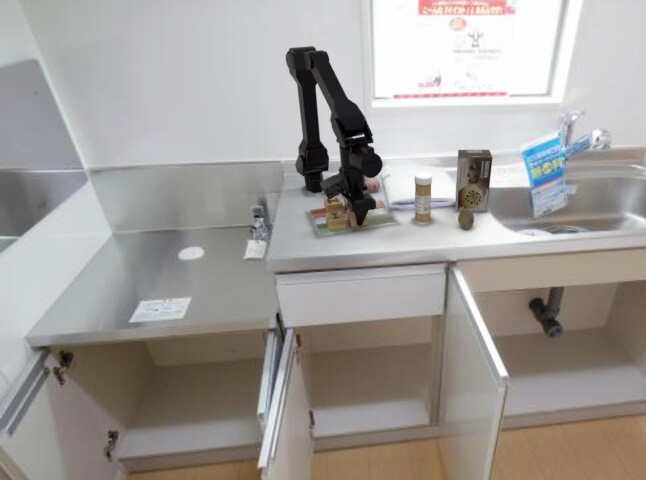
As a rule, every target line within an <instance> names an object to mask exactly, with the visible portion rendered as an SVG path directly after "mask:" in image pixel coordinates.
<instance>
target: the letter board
mask: <svg viewBox="0 0 646 480" xmlns="http://www.w3.org/2000/svg"><path fill="white" fill-rule="evenodd" d="M375 201H376V209H375V210H378V209H379V210H380V209H386V206H385V205H384V204H383V202H382V201H381V199H375ZM343 210H344V213H343V215H347V209H346V207H345V205H344V204H343ZM309 213H310V214H311V217H312V219H313V220H314V219H319V218H326V216H325V214H327V212H326V210H325V207H322V208H315V209H309ZM395 222H396V223H397V220H396V219H395V218H394V217H393V215H392V214H391V213H390V212H387V213H380V214H374V215H367V223H368V225H365V226H359V227H353V228H351V226H350V224H349V222H348V221H347V219H346V226H347V228H346V229H340V230H334V231H330V230H329V228H328V226H327V223H326V222H323V223H317V224H315V226H316V228H317V231H318V232H319V235H324V234H330V233H336V232H341V231H342V232H343V231H347V230H355V229H359V228H367V227H373V226H378V225H383V224H384V225H385V224H390V223H395Z"/></svg>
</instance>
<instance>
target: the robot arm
mask: <svg viewBox="0 0 646 480" xmlns="http://www.w3.org/2000/svg"><path fill="white" fill-rule="evenodd" d="M285 63H286V66H287V68H288V72H289V75H290V76H291V78H292V79H293V81H294V82H295V83H296V86H297V96H298V104H299V105H298V106H299V115H300V124H301V132H302V133H301V134H302V139H301V141H300V144H299V145H298V156H297V157H296V161H295V164H294V166H295V168H296V172H297V173H298V174H299V175H300V176H301V177H303V180H304V185H303V188H305V190H306V191H307V192H310V193H312V194H318V193H319V194H320V193H322V192H323V194H324V195H325V197H326V199H327V198H328V199H332V198H334V197H338V196H339V195H341V196H342V197H343V198H344V197H345V198H346V199H347V201H348V204H347V205H348V206H349V208H350V210H352V212H354V214H355V218H356V221H357V225H358V226H361V225H362V224H363V222H364V219H365V217H366V215H367V216H368V212H370V211H372V210H373V211H374V210H377V209H376V201H375V200H376V199H375V198H374V197H373V195H372V194H371V193H364V192H363V191H365V190H368V187H367V185H366V184H365V176H366V177H368V178H374V177H376V178H377V176H378V175H379V174H380V173H381V172H382V169H383V160H382V158H381V156H380V155H379V154H378V153H377V152H375V147H374V146H372V145H371V144H374V141H375V140H374V139H373V136H374V135H373V132H372V130H371V128H370V126H369V123H368V121H367V118H366V116H365V114H364V113H363V112H362V110H361V109H360V107H359V105H358V104H357V103H355V102H354V101H353V100H351V99H349V98H348V96H347V94H346V92H345V90H344V87H343V86H342V85H341V82H340V81H339V78H338V76H337V74H336V72H335V70H334V68H333V66H332V64H331V62H330V56H329V54H328V52H327V51H326V50H323V49H320V50H317V49H316V47H315V46H313V45H309V46H296V47H289V48H288V50H287V51H286V54H285ZM317 86H318V88H319V90H320V91H321V93H322V96H323V98H324V100H325V102H326V103H327V105H328V108H329V110H330V117H329V118H330V119H329V122H330V125H331V129H332V132H333V134H334V135H335V138H336V139H335V141H336V143H337V144H338V148H339V159H340V166H339V168H338V173H337V174H334V175H331V176H330V177H327V178H325V179H324V173H323V172H329V169H330V155H329V154H328V153H329V151H328V148H327V147H326V146H325V145H324V144H323V142H322V141H321V134H320V123H319V121H320V120H319V110H318V109H319V108H318V98H317ZM369 144H370V145H371V146H370V145H369Z"/></svg>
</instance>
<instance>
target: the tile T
mask: <svg viewBox="0 0 646 480" xmlns="http://www.w3.org/2000/svg"><path fill="white" fill-rule="evenodd" d="M367 216H368V214H367V215H366V217H365V219H364V222H363V224H362V225H361V226H365V225H368V223H367ZM346 220H347V221H348V222H349V224H350V226H351V228H353V227H359V226H358V225H357V221H356V218H355V214H354V212H352V210H347V214H346Z"/></svg>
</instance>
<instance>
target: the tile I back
mask: <svg viewBox="0 0 646 480" xmlns="http://www.w3.org/2000/svg"><path fill="white" fill-rule="evenodd" d="M347 204H348V201H347V199H346V198H345V197H344V196H343V205H345V207H346V209H347V210H350V208H349V206H348V205H347Z"/></svg>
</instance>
